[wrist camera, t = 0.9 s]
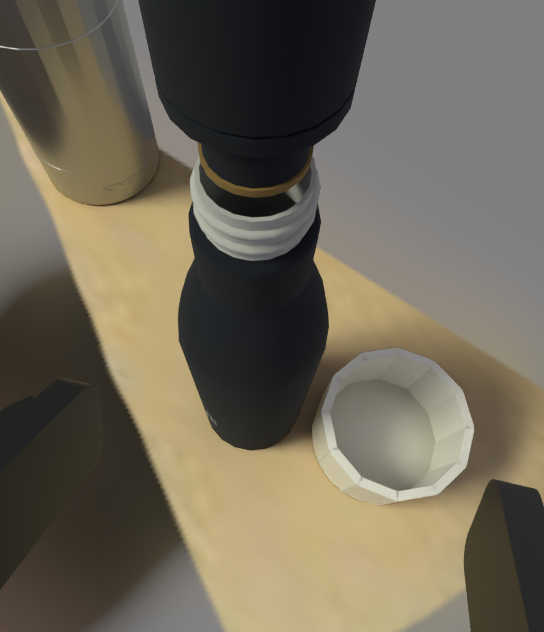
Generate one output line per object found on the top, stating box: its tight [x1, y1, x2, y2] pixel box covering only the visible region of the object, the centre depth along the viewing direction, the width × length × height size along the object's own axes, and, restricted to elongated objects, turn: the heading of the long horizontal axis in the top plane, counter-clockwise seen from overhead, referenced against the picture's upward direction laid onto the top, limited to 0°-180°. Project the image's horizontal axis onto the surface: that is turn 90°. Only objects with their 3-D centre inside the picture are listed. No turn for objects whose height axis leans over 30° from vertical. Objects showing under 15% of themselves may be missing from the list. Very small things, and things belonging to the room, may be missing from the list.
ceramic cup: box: [311, 348, 474, 506], centre depth 31 cm, size 8×8×6 cm
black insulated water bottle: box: [139, 0, 376, 450], centre depth 21 cm, size 6×6×30 cm
